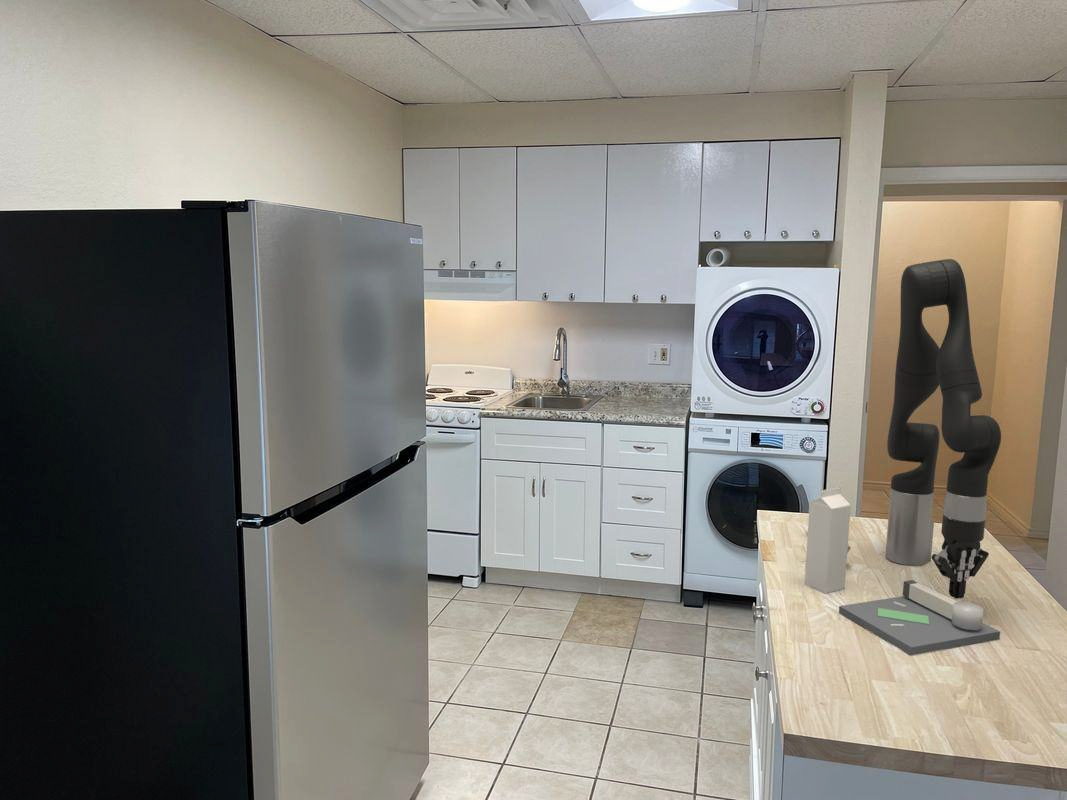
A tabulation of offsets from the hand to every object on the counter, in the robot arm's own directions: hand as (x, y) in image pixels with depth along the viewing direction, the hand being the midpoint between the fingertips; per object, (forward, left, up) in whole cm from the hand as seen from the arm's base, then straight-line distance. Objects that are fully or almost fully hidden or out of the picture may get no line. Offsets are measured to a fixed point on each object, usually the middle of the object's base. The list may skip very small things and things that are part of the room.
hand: (956, 596), depth 163 cm
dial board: (+13, +3, -3) cm, 13 cm away
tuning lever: (+7, +3, -1) cm, 7 cm away
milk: (+17, -19, -3) cm, 26 cm away
